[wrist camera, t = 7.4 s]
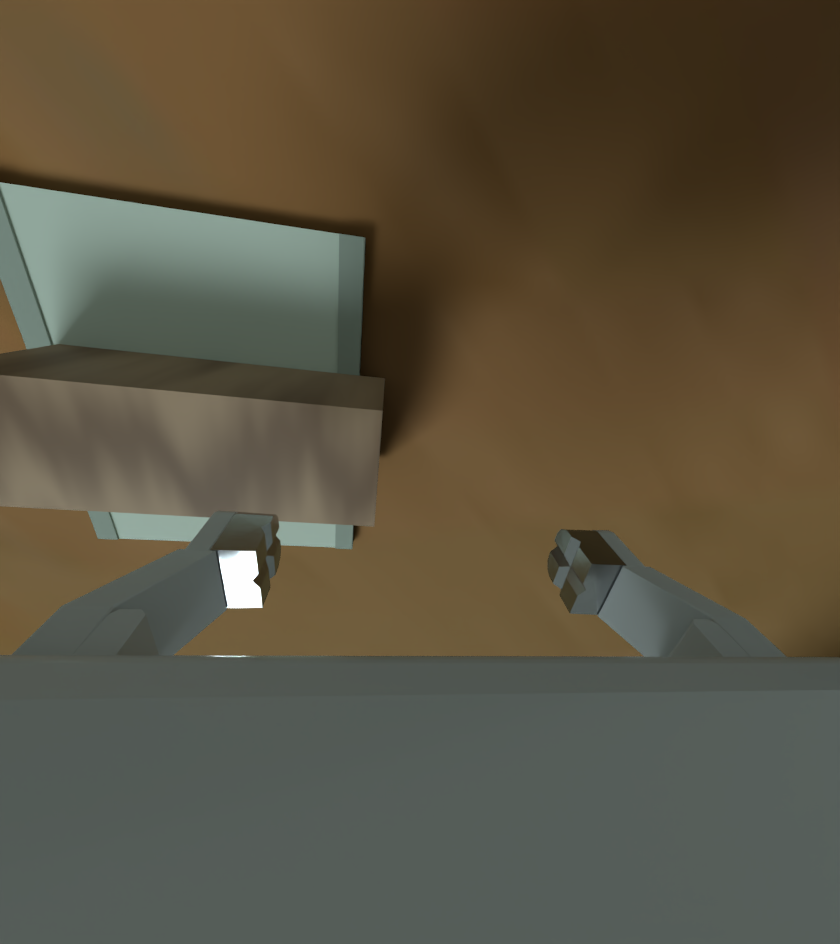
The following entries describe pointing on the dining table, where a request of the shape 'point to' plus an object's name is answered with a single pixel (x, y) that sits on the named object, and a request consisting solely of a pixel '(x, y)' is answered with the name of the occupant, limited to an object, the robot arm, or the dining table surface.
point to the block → (186, 436)
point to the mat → (182, 301)
